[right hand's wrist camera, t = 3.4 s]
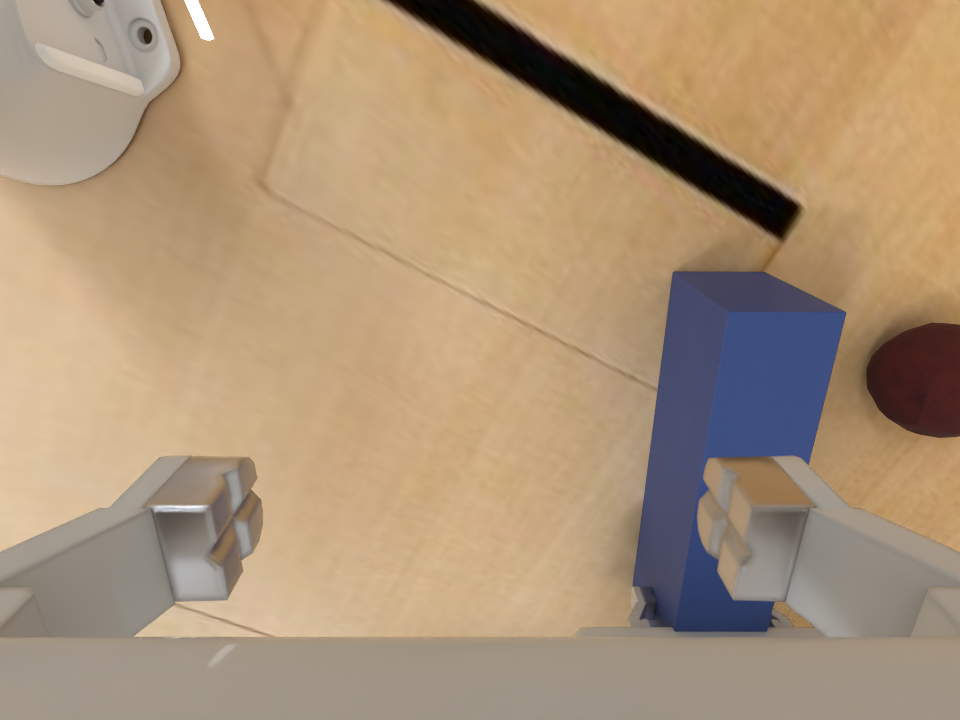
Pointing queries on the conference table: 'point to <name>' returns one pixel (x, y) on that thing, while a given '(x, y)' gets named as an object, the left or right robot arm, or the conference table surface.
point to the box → (725, 424)
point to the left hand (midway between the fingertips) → (690, 593)
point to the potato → (919, 380)
